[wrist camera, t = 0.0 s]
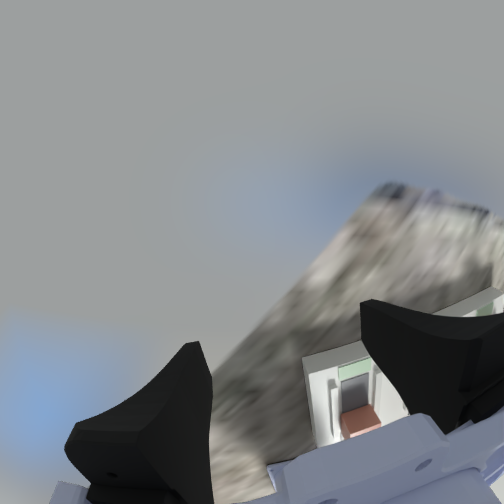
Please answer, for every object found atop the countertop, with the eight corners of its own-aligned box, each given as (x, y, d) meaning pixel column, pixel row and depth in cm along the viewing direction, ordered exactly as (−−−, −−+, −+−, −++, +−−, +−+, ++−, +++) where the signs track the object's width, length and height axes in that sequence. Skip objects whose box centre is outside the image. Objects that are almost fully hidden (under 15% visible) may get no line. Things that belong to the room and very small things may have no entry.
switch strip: (478, 360, 27) (491, 371, 24) (312, 432, 26) (319, 452, 23) (491, 286, 24) (508, 294, 21) (301, 357, 24) (310, 378, 21)
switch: (368, 422, 24) (380, 442, 21) (341, 432, 23) (350, 453, 20) (370, 403, 23) (382, 424, 20) (340, 414, 23) (351, 436, 20)
